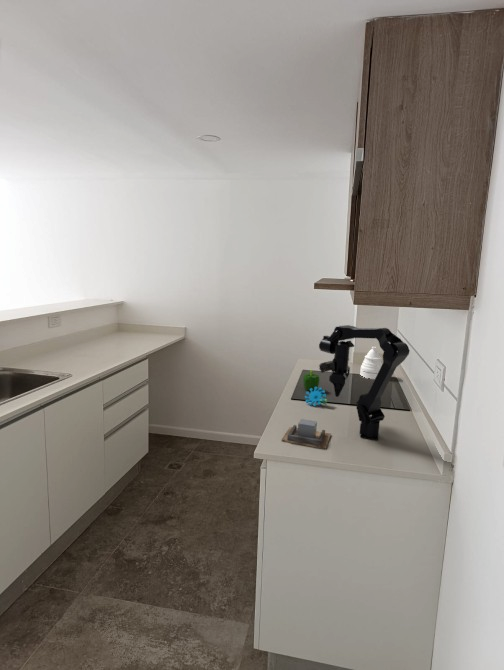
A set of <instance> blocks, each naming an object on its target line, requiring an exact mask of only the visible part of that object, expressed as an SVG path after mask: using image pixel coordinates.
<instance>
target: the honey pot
mask: <svg viewBox="0 0 504 670" xmlns="http://www.w3.org/2000/svg"><path fill="white" fill-rule="evenodd" d="M382 364H383V356H380V353H379V352H378V349H377V346H371V349H370V350H369V351H368V352H367V354H365V355H364V359H363V361H362V364H361V365H360V369H359V370H360V371H359V372H360V373H359V376H360V375H361V376H363V377H362V378H364V377H365V378H364V379H368V378H370V379H369V380H375V378H376V376H377V374H378V372H379V370H380V368H381V366H382ZM361 376H360V377H361Z"/></svg>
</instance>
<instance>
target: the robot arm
mask: <svg viewBox="0 0 504 670" xmlns="http://www.w3.org/2000/svg"><path fill="white" fill-rule="evenodd" d="M353 339H376V341H378V345H379V347H380V349H381V350H382V351H383V354H382V366H381V368H380V370H379V372H378V374H377V376H376V378H375V379H373V382H372V384H371V386H370V388H369V391H368V393H364V394H360V396H359V398H358V400H357V402H356V411H357V417H358V421H359V422H360V425H359V436H360V438H363V439H368V440H369V439H370V440H375V441H378V440H379V435H380V433H379V431H380V423H381V421H384V420H385V414H384V413H383V410H382V409H381V405H382V400H381V398H382V395H383V394H384V392H385V390H386V388H387V386H388V384H389V382H390V380H391V379H392V376H393V374H394V372H395V371H396V369H397V367H399V365H401V364H402V363H403V362H404V361H405V360H406V359H407V357H408V356H409V355H410V351H411V350H410V349H409V345H408V344H407V343H405V342H404V341H403V340H402V339H401V338H400V337H398V336H397V335H396V334H395V333H393V332H392V331H391V330H390V329H389V328H387V327H380V328H379V327H376V328H373V327H370V328H369V327H366V328H365V327H363V328H362V327H357V326H354V325H338V326H337V325H336V326H335V327H334V330H333V332H332V333H331V334H330V336H329V335H323V338H322V339H321V340H320V342H319V345H318V348H319V350H320V352H324V353H328V354H332V355H334V357H333V359H332V360H329V361H324V362H321V363H320V364H319V365H318V367H319V370H320V373H326V372H329V371H331V373H330V375H329V382H330V383H331V384H332V385H333V388H334V394H335V397H336V398H338V397H340V394H341V392H342V390H343V389H344V387H345V384H346V382H347V379H348V377H349V375H350V372H351V367H350V366H349V361H350V348H355V345H354V343H353V342H352V341H351V340H353ZM346 340H347V341H346Z"/></svg>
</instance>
